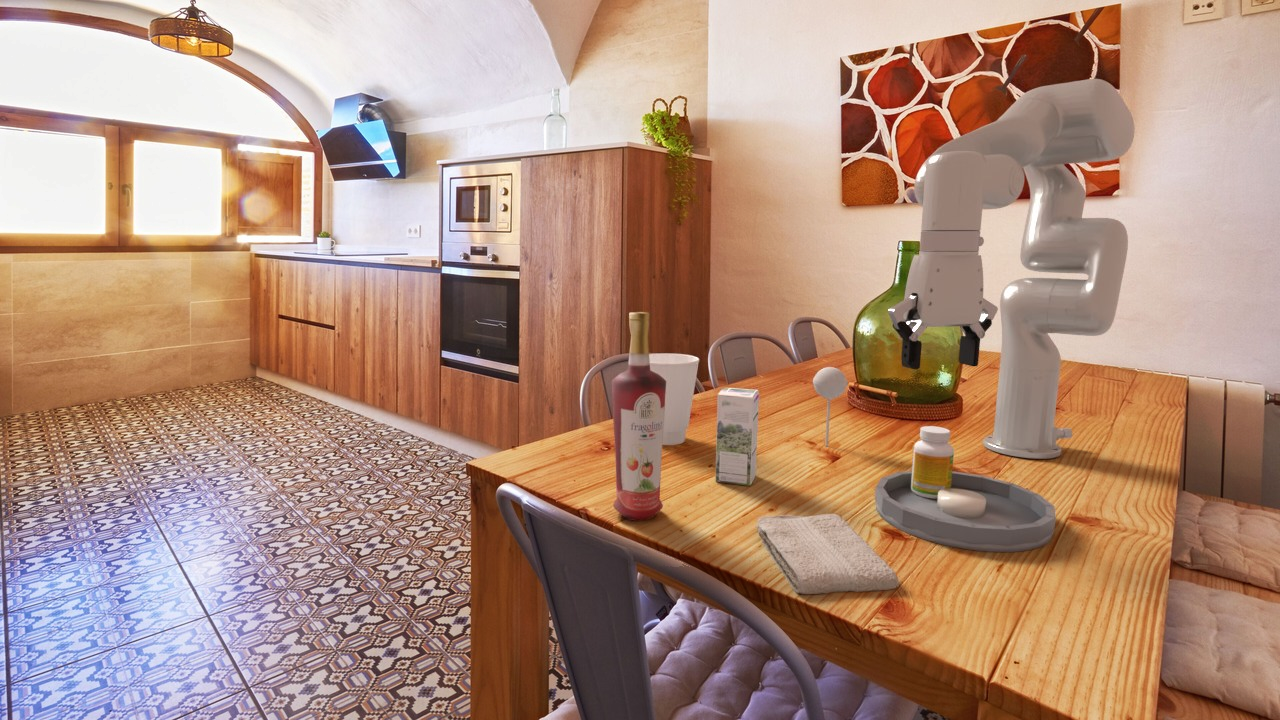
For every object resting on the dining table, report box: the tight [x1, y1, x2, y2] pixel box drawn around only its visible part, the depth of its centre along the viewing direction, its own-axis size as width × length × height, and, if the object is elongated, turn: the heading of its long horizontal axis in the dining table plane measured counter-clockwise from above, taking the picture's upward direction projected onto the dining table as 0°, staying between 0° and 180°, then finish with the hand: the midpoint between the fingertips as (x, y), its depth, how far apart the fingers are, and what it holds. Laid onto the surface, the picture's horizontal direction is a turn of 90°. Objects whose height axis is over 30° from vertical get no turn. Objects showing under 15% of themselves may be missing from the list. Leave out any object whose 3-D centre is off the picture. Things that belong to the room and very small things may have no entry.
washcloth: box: [755, 513, 900, 595], centre depth 81 cm, size 12×18×3 cm, turn 7°
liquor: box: [611, 311, 666, 521], centre depth 91 cm, size 7×7×28 cm
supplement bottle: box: [911, 425, 955, 499], centre depth 99 cm, size 5×5×10 cm
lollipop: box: [812, 366, 848, 447], centre depth 125 cm, size 6×6×15 cm
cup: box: [649, 352, 700, 446], centre depth 128 cm, size 12×12×16 cm
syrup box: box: [715, 387, 760, 487], centre depth 107 cm, size 6×6×14 cm
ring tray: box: [874, 470, 1057, 553], centre depth 93 cm, size 22×22×3 cm
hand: (939, 366), depth 96 cm, fingers open, 9 cm apart
